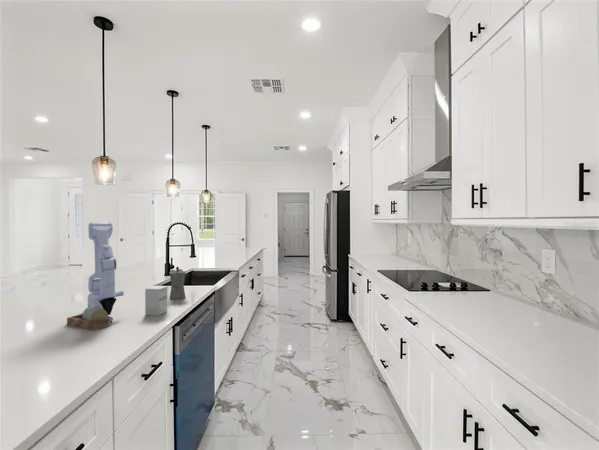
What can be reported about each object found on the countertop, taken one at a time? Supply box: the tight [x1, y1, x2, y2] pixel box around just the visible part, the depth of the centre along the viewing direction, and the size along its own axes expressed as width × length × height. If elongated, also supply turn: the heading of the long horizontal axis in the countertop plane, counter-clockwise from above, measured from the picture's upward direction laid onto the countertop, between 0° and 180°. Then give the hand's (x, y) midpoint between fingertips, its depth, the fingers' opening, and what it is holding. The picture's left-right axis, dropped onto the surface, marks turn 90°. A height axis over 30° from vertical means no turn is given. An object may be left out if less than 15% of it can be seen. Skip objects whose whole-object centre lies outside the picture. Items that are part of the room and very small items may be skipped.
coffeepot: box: [169, 266, 186, 301], centre depth 192 cm, size 15×9×18 cm, turn 44°
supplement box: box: [144, 285, 168, 316], centre depth 159 cm, size 7×7×13 cm
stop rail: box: [66, 313, 110, 331], centre depth 141 cm, size 18×6×3 cm, turn 66°
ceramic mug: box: [82, 305, 114, 323], centre depth 143 cm, size 11×8×8 cm
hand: (107, 314), depth 149 cm, fingers closed
